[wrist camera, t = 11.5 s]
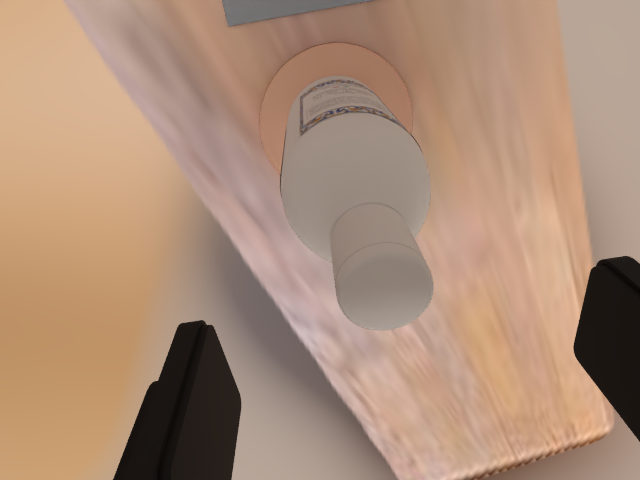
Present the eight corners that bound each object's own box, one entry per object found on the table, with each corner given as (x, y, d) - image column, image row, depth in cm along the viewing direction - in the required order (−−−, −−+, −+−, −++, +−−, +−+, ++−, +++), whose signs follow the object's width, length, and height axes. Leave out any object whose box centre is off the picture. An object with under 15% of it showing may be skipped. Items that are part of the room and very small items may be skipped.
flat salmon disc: (243, 58, 28) (242, 59, 27) (406, 29, 27) (408, 29, 27) (277, 204, 33) (277, 208, 33) (413, 182, 33) (415, 185, 32)
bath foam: (352, 186, 32) (415, 401, 15) (271, 145, 30) (231, 337, 13) (402, 104, 29) (555, 252, 12) (315, 54, 27) (343, 139, 10)
